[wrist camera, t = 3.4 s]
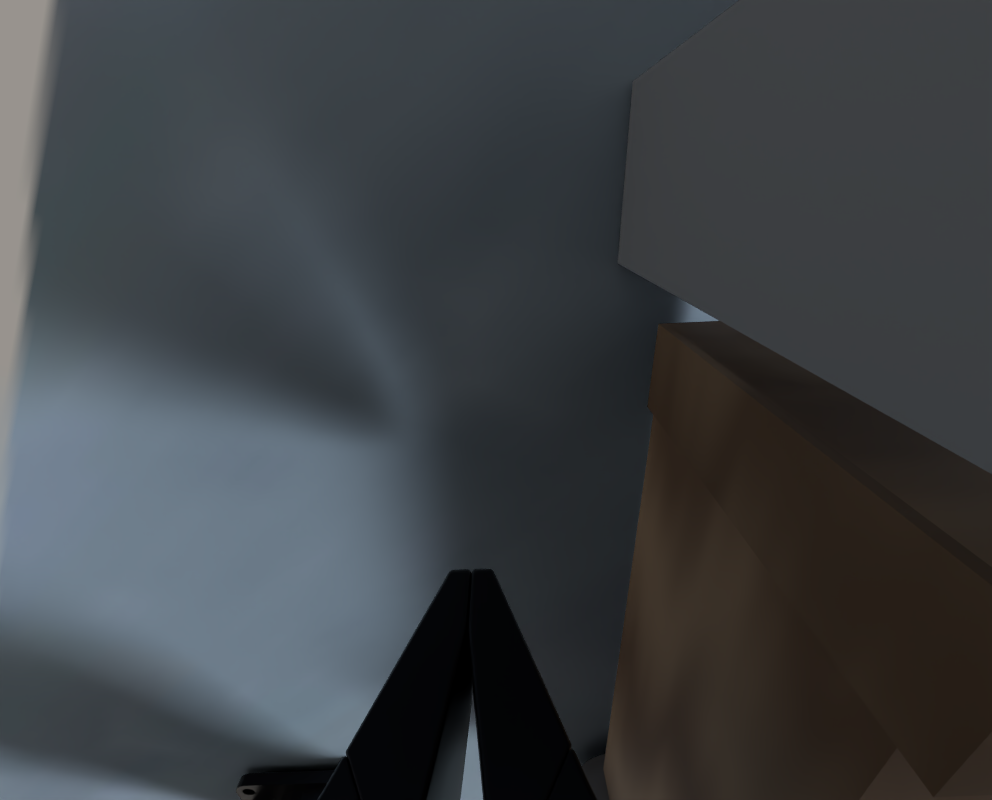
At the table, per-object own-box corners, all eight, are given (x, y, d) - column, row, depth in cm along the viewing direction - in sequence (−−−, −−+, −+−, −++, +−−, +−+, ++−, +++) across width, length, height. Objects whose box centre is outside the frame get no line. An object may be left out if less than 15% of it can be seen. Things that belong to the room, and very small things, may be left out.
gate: (649, 788, 17) (749, 1162, 11) (577, 791, 17) (631, 1166, 11) (767, 311, 9) (1804, 760, 2) (620, 318, 9) (1094, 784, 2)
